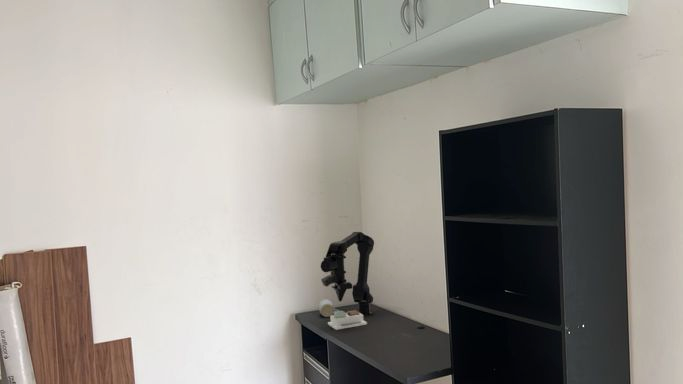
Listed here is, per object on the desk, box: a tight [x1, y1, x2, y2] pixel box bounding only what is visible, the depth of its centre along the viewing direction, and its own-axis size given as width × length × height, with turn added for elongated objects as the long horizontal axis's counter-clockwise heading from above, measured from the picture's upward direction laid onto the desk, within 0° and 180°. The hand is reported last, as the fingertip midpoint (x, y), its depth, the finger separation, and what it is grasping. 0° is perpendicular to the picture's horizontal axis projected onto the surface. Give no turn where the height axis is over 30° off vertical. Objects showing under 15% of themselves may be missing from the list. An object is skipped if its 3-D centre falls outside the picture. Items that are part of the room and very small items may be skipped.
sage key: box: [333, 310, 347, 318], centre depth 264 cm, size 4×4×3 cm
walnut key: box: [346, 309, 359, 316], centre depth 266 cm, size 4×4×3 cm
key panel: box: [327, 312, 368, 331], centre depth 263 cm, size 11×16×4 cm
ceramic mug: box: [318, 298, 340, 318], centre depth 282 cm, size 11×8×8 cm
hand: (340, 301), depth 263 cm, fingers closed
